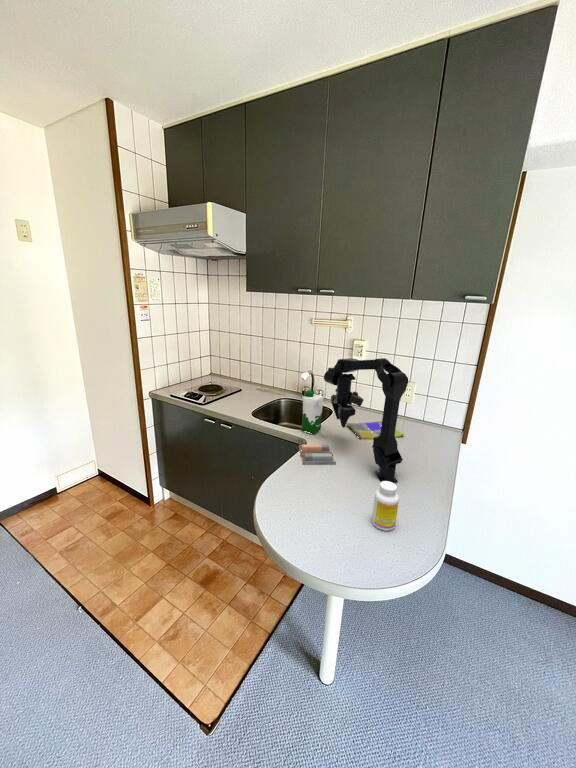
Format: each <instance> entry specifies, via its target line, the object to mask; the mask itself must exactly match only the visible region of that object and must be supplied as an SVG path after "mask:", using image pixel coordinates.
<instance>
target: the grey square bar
mask: <svg viewBox="0 0 576 768" xmlns="http://www.w3.org/2000/svg"><path fill="white" fill-rule="evenodd" d="M332 454H333V453H332ZM332 454H331V453H304V461H332V459H334V455H333V456H332Z"/></svg>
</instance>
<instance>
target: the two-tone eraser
mask: <svg viewBox="0 0 576 768" xmlns="http://www.w3.org/2000/svg"><path fill="white" fill-rule="evenodd" d="M301 445H302V451H329V450H330V445H329V444H323V443H322V444H316V443H315V444H306V443H305V444H301ZM328 445H329V446H328Z"/></svg>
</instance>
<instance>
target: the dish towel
mask: <svg viewBox="0 0 576 768" xmlns="http://www.w3.org/2000/svg"><path fill="white" fill-rule="evenodd" d="M346 425H347V427H348V428H349V429H350V428H351V429H352V430H353V431H354V432H355V433H356V435H357V436H358V437H359V439H358V440H361V439H364V440H365V439H368V440H373V439H374V437H377V436H379V435H380V433H381V427H380V426H381V425H382V421H373V422H358V423H356V422H353V423H351V422H347V423H346ZM368 428H369V429H368ZM351 429H350V430H351ZM352 430H351V431H352ZM353 431H352V432H353ZM371 431H373V433H371ZM354 432H353V433H354ZM356 435H355V436H356ZM357 436H356V437H357ZM401 436H402V437H404V436H405V433H404V432H401V431H399V430H397V429H395V437H397V438H400V437H401Z"/></svg>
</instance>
